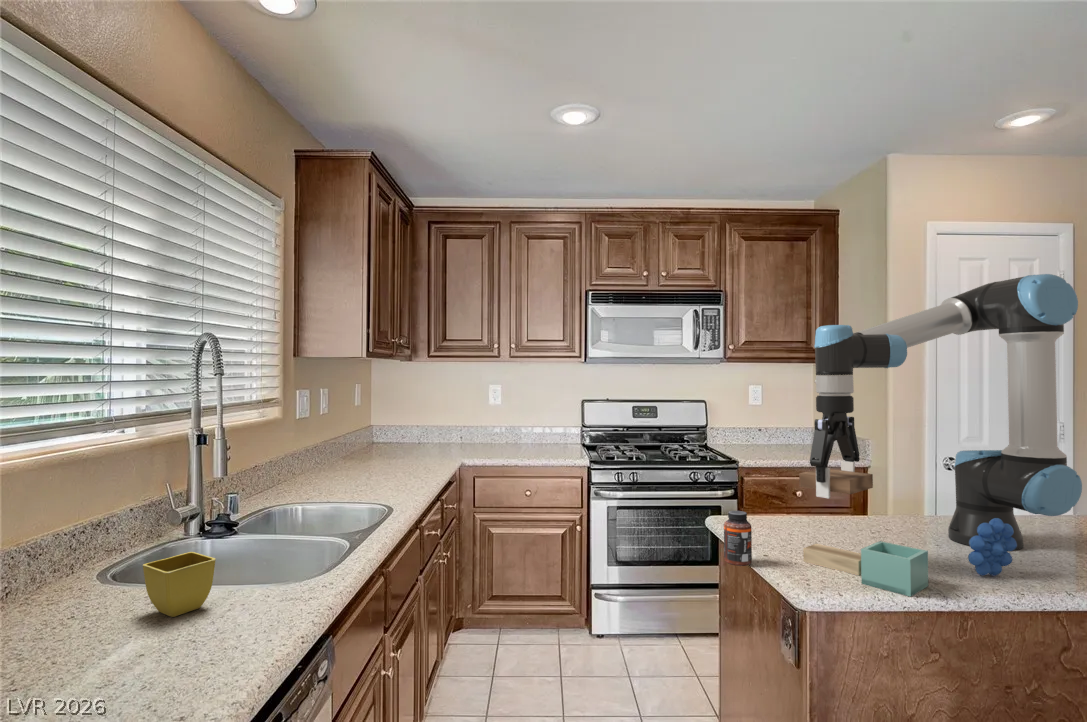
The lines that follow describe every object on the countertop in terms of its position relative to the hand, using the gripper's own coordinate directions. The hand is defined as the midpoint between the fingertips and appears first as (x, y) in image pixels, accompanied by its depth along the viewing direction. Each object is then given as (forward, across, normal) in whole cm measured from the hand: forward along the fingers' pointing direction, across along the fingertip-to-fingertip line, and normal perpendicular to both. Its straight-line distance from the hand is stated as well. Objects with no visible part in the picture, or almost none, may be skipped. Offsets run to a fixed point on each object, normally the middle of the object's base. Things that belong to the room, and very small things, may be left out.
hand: (836, 493), depth 132 cm
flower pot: (+16, +117, -64) cm, 134 cm away
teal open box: (+16, +3, +13) cm, 21 cm away
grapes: (+16, -19, +23) cm, 34 cm away
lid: (-1, 0, 0) cm, 1 cm away
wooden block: (+16, 0, 0) cm, 16 cm away
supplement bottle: (+16, +15, -15) cm, 27 cm away
